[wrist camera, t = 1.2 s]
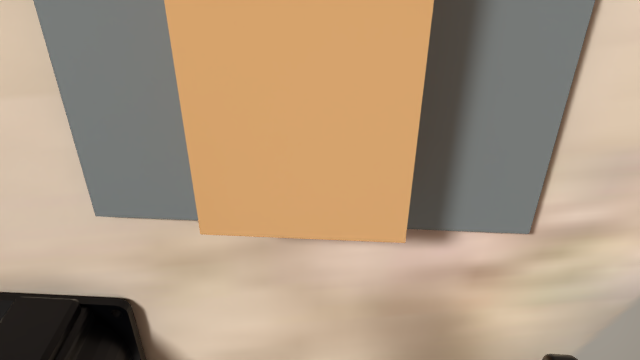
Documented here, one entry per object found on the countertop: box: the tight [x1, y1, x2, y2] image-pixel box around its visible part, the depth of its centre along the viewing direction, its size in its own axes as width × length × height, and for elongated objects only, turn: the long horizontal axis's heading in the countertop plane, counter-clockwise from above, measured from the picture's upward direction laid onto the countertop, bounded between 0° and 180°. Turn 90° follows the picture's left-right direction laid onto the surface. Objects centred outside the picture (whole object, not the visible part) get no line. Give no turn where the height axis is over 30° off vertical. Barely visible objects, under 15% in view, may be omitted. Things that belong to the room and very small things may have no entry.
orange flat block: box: [164, 0, 434, 243], centre depth 16 cm, size 9×6×2 cm
